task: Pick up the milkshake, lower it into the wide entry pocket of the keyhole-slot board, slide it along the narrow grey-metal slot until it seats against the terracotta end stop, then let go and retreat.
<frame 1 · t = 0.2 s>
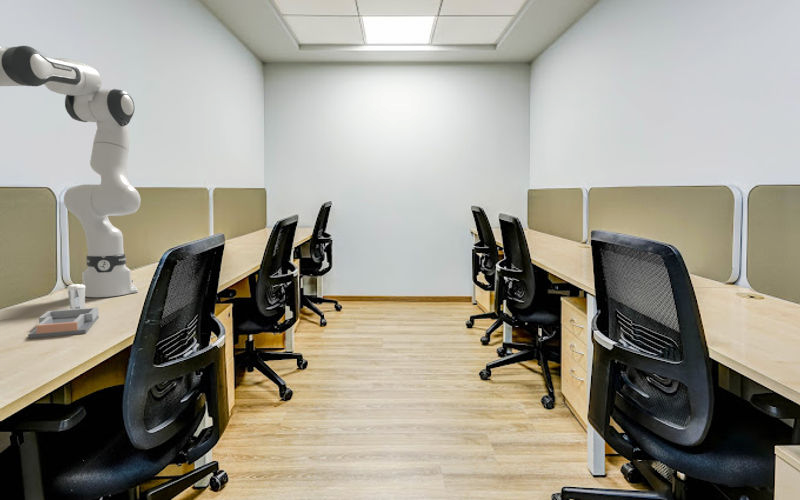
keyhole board: (66, 327, 130), on the table
milkshake: (79, 314, 144), on the table
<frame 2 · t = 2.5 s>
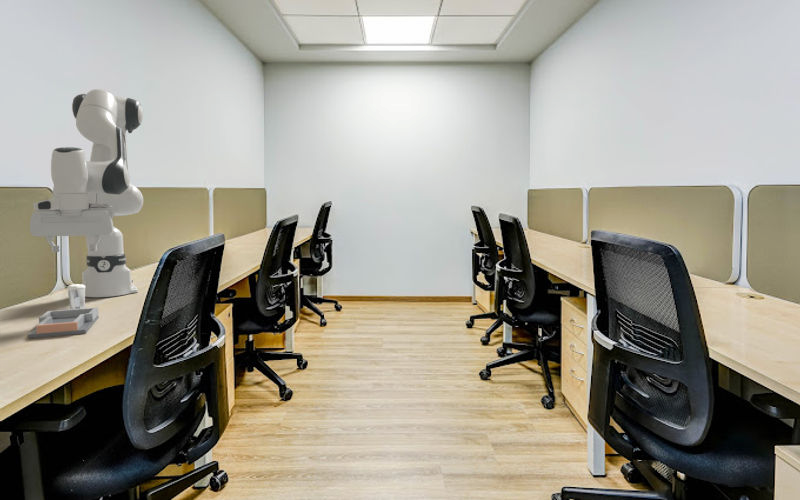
hand: (74, 251, 142), 19 cm above the table, tool pointing down, fingers open, 8 cm apart
nothing on the table moved.
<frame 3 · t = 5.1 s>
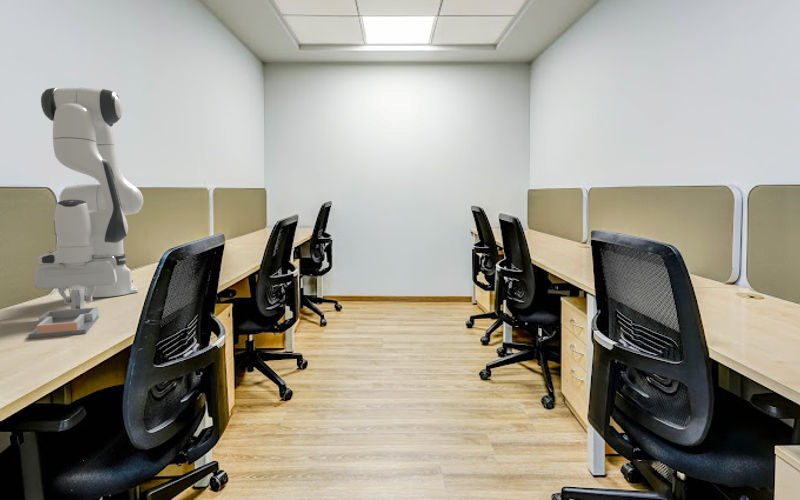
hand: (78, 302, 144), 4 cm above the table, tool pointing down, fingers closed on milkshake, 4 cm apart
milkshake: (79, 314, 144), on the table, touching gripper
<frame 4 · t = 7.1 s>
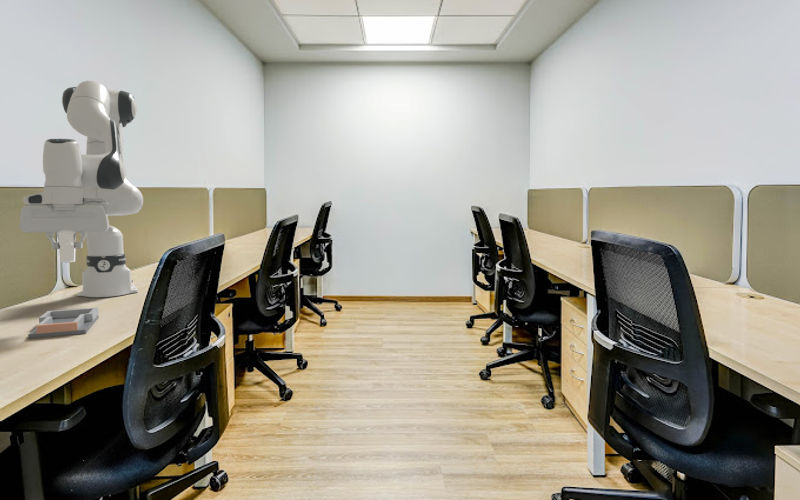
hand: (67, 248, 134), 20 cm above the table, tool pointing down, fingers closed on milkshake, 4 cm apart
milkshake: (69, 262, 135), point 16 cm above the table, touching gripper
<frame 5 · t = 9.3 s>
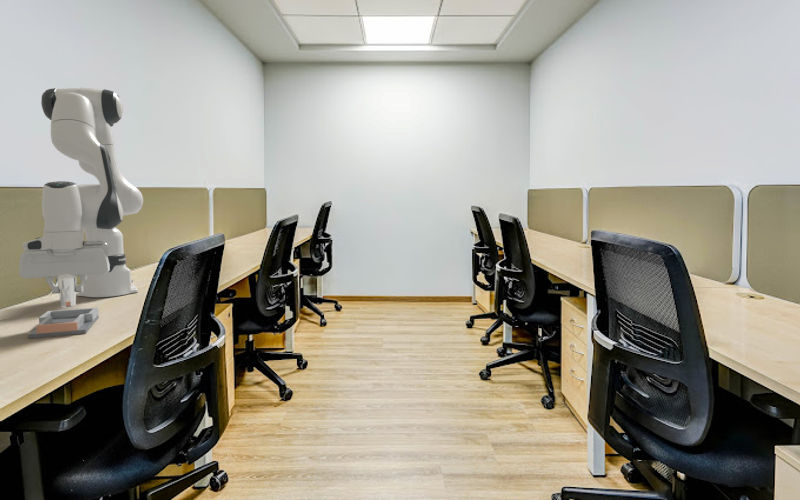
hand: (67, 292, 133), 9 cm above the table, tool pointing down, fingers closed on milkshake, 4 cm apart
milkshake: (69, 306, 133), point 5 cm above the table, touching gripper
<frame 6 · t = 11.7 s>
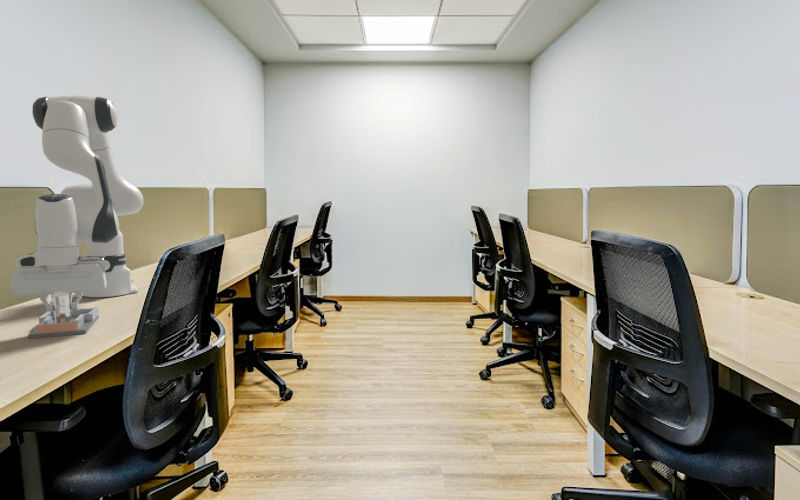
hand: (62, 310, 127), 5 cm above the table, tool pointing down, fingers closed on milkshake, 4 cm apart
milkshake: (65, 324, 128), point 1 cm above the table, touching gripper
when the fingers open (5 cm above the table, at t = 13.6 s): milkshake moves 2 cm, resting on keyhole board.
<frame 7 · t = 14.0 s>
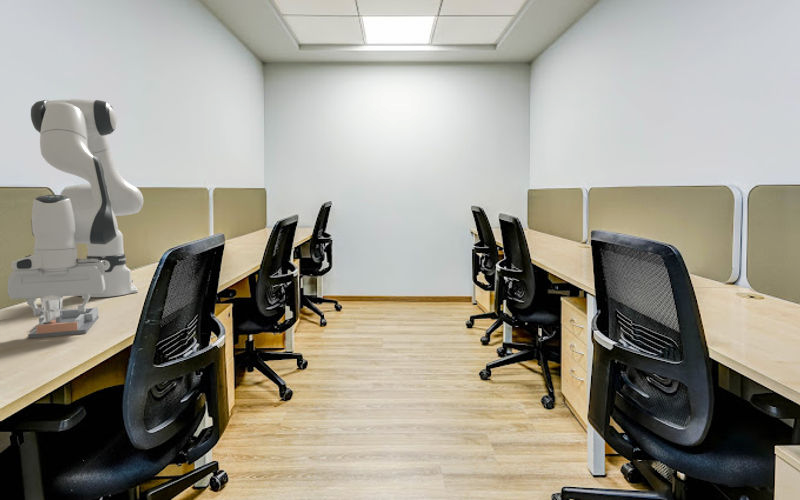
hand: (60, 313, 125), 5 cm above the table, tool pointing down, fingers open, 8 cm apart
milkshake: (55, 329, 124), point 1 cm above the table, touching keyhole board
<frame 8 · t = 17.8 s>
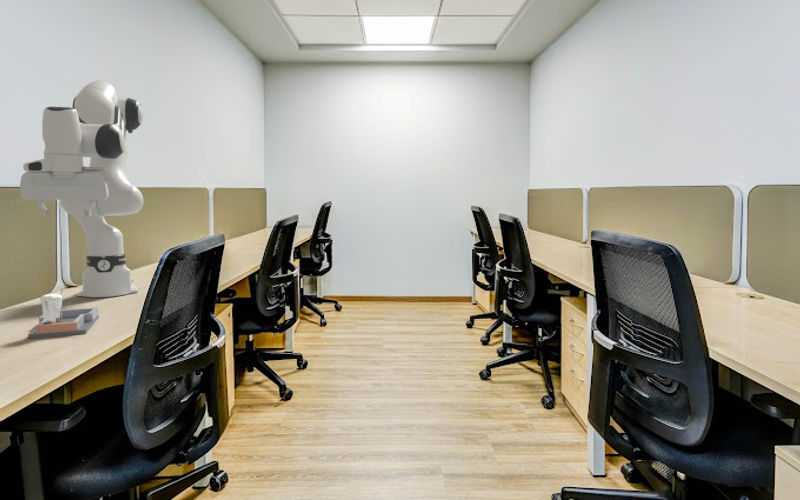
hand: (67, 216, 136), 29 cm above the table, tool pointing down, fingers open, 8 cm apart
nothing on the table moved.
at the end: milkshake 1.3 cm from the target spot on the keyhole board, point 0.8 cm above the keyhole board's base; milkshake tilted 0°; the gripper is holding nothing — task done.
